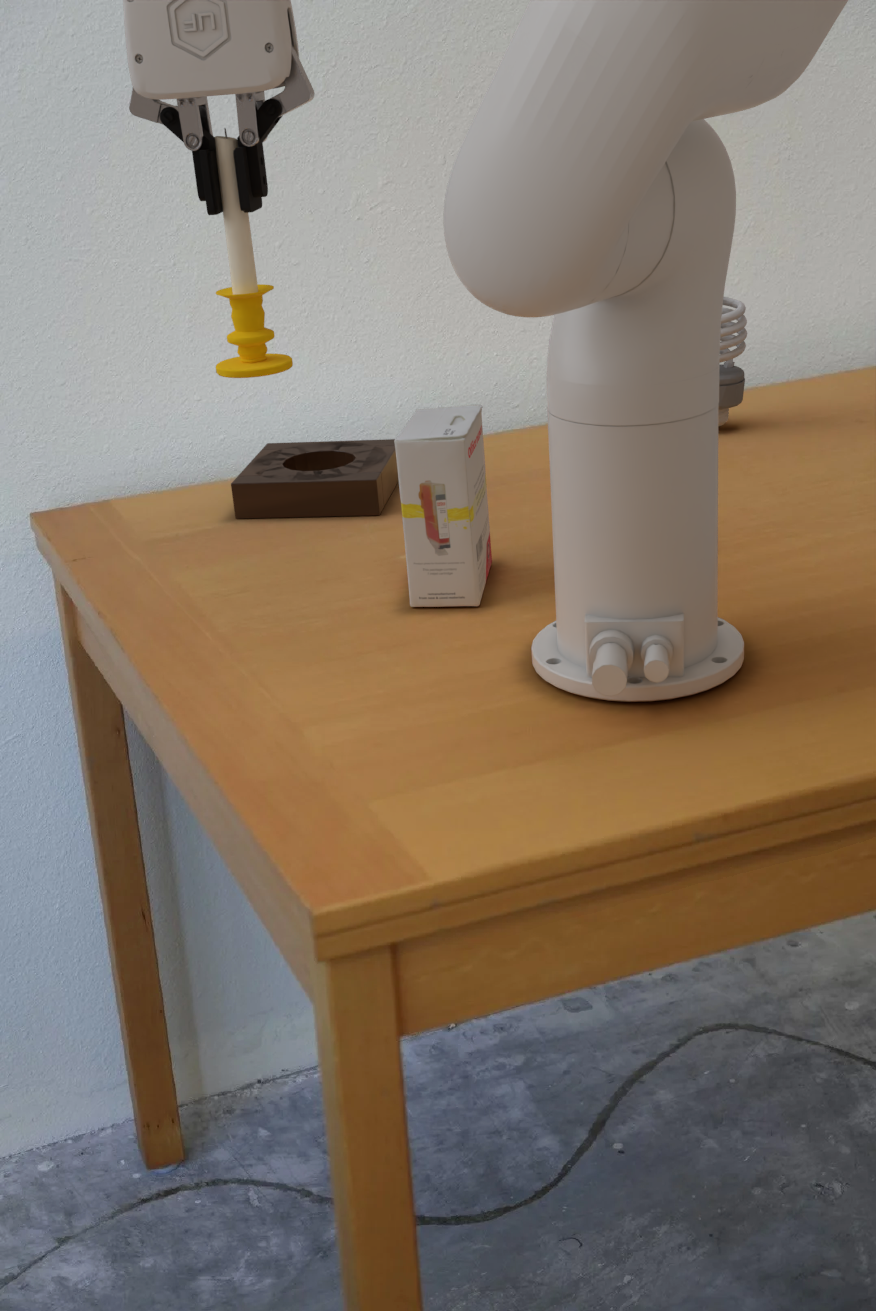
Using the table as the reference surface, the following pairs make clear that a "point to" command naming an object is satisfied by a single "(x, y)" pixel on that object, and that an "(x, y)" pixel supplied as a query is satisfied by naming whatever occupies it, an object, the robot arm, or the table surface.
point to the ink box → (444, 506)
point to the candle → (243, 282)
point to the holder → (317, 480)
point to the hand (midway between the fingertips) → (235, 209)
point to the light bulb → (731, 358)
